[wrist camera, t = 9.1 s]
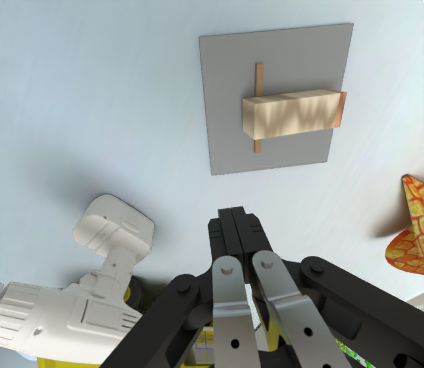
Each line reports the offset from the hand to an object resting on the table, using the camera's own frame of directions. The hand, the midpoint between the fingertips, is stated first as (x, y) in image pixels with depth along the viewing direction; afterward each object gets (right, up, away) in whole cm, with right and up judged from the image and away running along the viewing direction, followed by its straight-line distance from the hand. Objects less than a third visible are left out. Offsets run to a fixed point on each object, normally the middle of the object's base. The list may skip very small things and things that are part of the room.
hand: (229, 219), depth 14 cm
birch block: (+4, +12, +20) cm, 24 cm away
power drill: (-22, -3, +32) cm, 38 cm away
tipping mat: (+9, +15, +24) cm, 30 cm away
